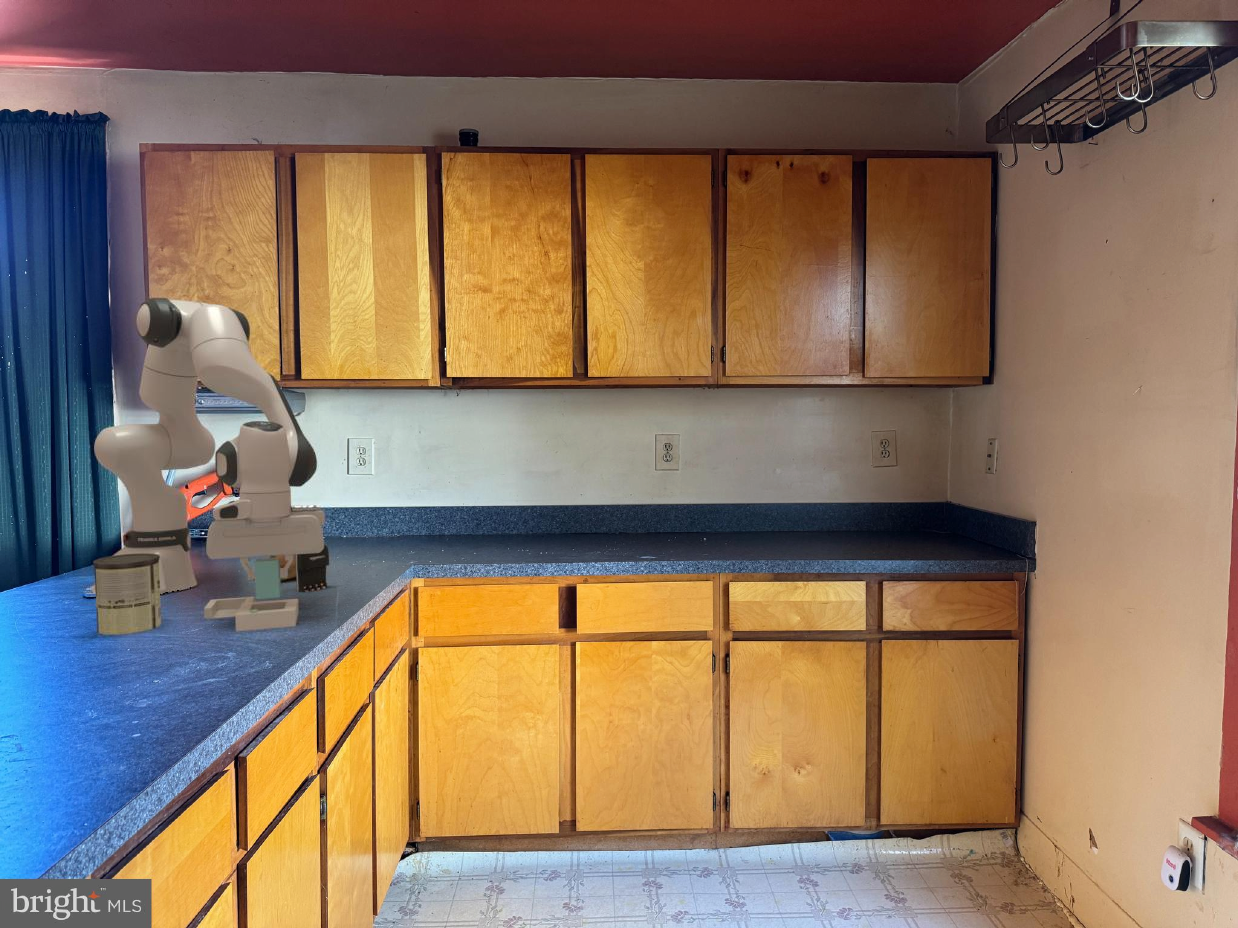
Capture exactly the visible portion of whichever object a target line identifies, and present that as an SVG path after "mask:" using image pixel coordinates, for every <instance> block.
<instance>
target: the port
mask: <svg viewBox="0 0 1238 928" xmlns="http://www.w3.org/2000/svg"><path fill="white" fill-rule="evenodd" d="M235 616H236V617H235V632H244V631H245V632H246V631H247V632H248V631H257V630H268V629H270V630H271V629H280V628H281V629H282V628H291V627H292V628H293V627H296V625H297V621H298V617H299V598H291V599H290V598H289V599H275V600H264V601H263V600H262V601H254V602H247V603H242V605H241V606H240V608H239V610H238V611H237V613H236V615H235Z"/></svg>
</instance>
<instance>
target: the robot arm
mask: <svg viewBox="0 0 1238 928" xmlns="http://www.w3.org/2000/svg"><path fill="white" fill-rule="evenodd" d="M136 327H137V329H136V330H137V334H138V336H139V337H140V338H141V340H142V341H143V342H144V343H146V344H148V346H147V350H146V352H145V357H144V360H143V361H144V362H143V368H142V374H141V380H140V385H139V391H138V392H139V397H140V400H141V402H142V403H143V404H144V405H146V406H147V408H150V409H151V410H153V411H155V412H157V413H158V416H159V419H158V422H157V423H135V424H134V423H125V424H119V425H114V426H109V427H106V428H103V429H102V430H101V431H100V432H99V433H98V435H97V437H96V438H95V441H94V446H93V447H94V449H93V450H94V455H95V457H96V460H97V461H98V463H99V464H100V465H101V466H102V467H103V468H105V470H107V471H110V472H111V473H113V474H114V475H115V476H116V477H117V478H118V479H119V480H120V481H121V483H122V484H123V486H124V487H125V489H126V491H127V494H128V497H129V499H130V506H131V507H130V508H131V514H132V529H130V530H127V531H126V532H125V534H123V535H122V539H121V540H122V543H123V546H124V547H122V548H121V549H120V550H118V551H117V552H116V553H114V554H113V555H112V556H116V555H124V554H140V553H147V554H148V553H149V554H157V555H159V556H160V559H159V576H160V594H161V595H163V593H165V592H168V593H173V592H172V591H174V592H178V591H177V590H179V591H184V590H187V589H190V587H191V588H193V587H195V586H197V585H198V582H197V580H196V576H195V574H194V570H193V566H192V561H191V556H190V555H191V554H190V553H191V552H190V550H191V547H192V546H191V545H192V542H191V541H192V540H191V530H190V527H189V526H188V506H187V505H188V503H187V497H186V495H185V494H184V492H183V491H181V490H180V489H179V488H177V487H174V486H172V485H170V484H168V483H167V482H166V480H165V479H164V476H163V471H172V470H188V469H192V468H197V467H200V466H205V465H208V464H209V463H210V461H212V459H213V457H214V458H215V459H214V460H215V461H214V462H215V476H216V478H218V479H219V481H221V482H222V483H223V484H224V485H226V486H227V487H230V488H231V487H232V488H239V498H238V499H237V500H230V501H229V502H227V503H223V504H221V505H219V506H217V507H215V508H213V510H212V517H213V519H214V521H213V522H211V524H210V525H209V528H208V530H207V534H206V535H207V537H206V545H205V546H206V547H205V548H206V549H205V550H206V551H205V553H206V556H207V557H208V558H209V559H210V560H222V559H238V558H240V559H239V561H240V565H241V566H242V568H243V569H244V570H245V572H246V574H247V581H248V582H250V581H251V582H252V581H254V582H255V569H252V568H251V566H250V564H249V562H251V561H250V560H251V558H255V557H257V558H259V557H270V556H276V555H285V560H286V561H288V562H287V564H286V565H285V567H284V568H280V569H279V574H280V575H279V579H283V578H288V568H289V566H290V565H291V563H292V561H293V559H294V554H310V553H320V552H321V551H322V550H323V548H324V545H325V539H324V533H323V527H324V526H325V523H326V513H325V511H324V510H323V509H322V508H321V507H318V506H317V505H313V504H310V505H292V495H291V494H292V491H291V490H292V488H291V487H295V488H296V487H298V488H299V487H303V486H304V485H305V484H306V483H308V482H309V481H310V479H312V478H313V476H314V475H315V473H316V472H317V468H318V459H317V455H316V451H315V449H314V447H313V446H312V444H311V443H310V441H309V440H308V438H307V437H306V436H305V434H304V432H303V431H302V428H301V427H300V424H299V422H298V420H297V418H296V416H295V414H294V412H293V410H292V407H291V405H290V403H289V402H288V399H287V397H286V395H285V393H284V391H283V389H282V387H281V385H280V383H279V382H278V380H277V379H276V378H275V376H273V375H272V374H270V373H269V372H267V370H265V369H264V368H263V367H262V366H261V365H260V364H259V362H258V361H257V360H256V359H255V357H254V355H253V353H252V352H251V347H250V344H249V342H250V336H251V327H250V322H249V320H248V319H247V316H246V315H245V314H244V313H242V311H241V312H240V311H238V310H237V309H233V308H230V307H227V306H224V305H221V304H213V303H206V302H201V301H191V300H189V301H188V300H182V299H181V300H179V299H168V298H167V297H149V298H147V299H146V300H145V301H144V302H142V303H141V304H140V306H139V309H138V313H137V314H136ZM199 381H200V383H201V384H202V385H203V386H204V387H206V388H207V389H209V390H210V391H212V392H214V393H215V394H218V395H221V396H223V397H227V398H230V399H235V400H238V401H241V402H244V403H246V404H249V405H252V406H253V407H256V409H257V408H258V409H259V410H260V411H261V412H262V413H263V414H264V415H265V417H266V419H267V420H266V421H263V420H254V421H253V420H252V421H248V422H244V423H243V424H241V426H240V428H239V433H238V435H237V436H236V437H234V438H233V439H231V440H226V441H225V442H224V443H222V444H221V445H220V446H219V447H218V448H217V450H216V440H215V437H214V435H213V434H212V433H211V432H210V430H209V429H208V428H206V427H205V426H204V425H203V424H202V423H201V421H200V419H199V417H198V415H197V410H196V398H197V388H198V382H199ZM214 455H215V456H214ZM89 587H90V588H89ZM89 587H87V588H85V589H86V590H92V591H93V593H91V592H90V593H86V594H96V590H95V583H94V585H92V586H89ZM85 592H86V591H85ZM165 594H166V593H165Z"/></svg>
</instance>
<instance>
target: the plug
mask: <svg viewBox="0 0 1238 928" xmlns="http://www.w3.org/2000/svg"><path fill="white" fill-rule="evenodd" d="M279 569H280V557H278V558H270V557H266V558H265V557H264V558H256V560H255V561H254V570H255V580H254V582H255V585H254V586H255V600H263V599H266V600H267V599H276V598H281V593H282V586H281V585H282V583H281V581H280V579H279V575H280V574H279Z"/></svg>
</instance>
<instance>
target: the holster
mask: <svg viewBox="0 0 1238 928" xmlns="http://www.w3.org/2000/svg"><path fill="white" fill-rule="evenodd" d="M247 602H255V596H246V597H228V598H218V599H217V598H216V599H210V600H209V601H208V603H207V604H206V605H205V607H204V608H203V619H204V620H210V619H211V620H212V619H222V618H224V619H225V618H232V617H233V618H234V617H235V618H236V616H235V615H236V613H237V611H238V610H239V608H240V606H241V605H242V603H247Z"/></svg>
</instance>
